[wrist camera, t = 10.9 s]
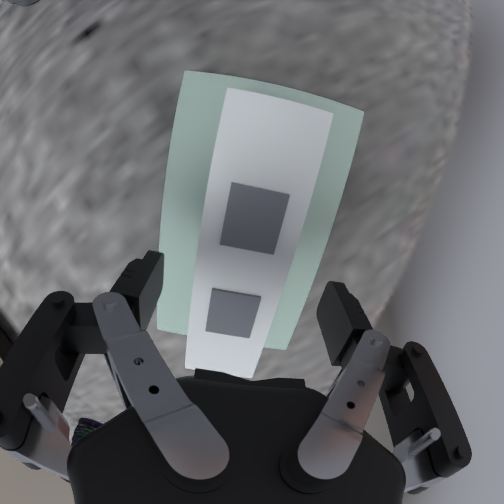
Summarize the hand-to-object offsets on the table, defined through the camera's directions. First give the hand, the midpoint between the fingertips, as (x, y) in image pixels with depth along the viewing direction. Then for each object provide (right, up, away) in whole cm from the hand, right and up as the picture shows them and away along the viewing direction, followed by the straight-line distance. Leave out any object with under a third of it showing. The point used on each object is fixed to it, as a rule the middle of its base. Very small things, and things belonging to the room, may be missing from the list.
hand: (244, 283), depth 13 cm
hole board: (0, +4, +8) cm, 9 cm away
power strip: (0, +4, +8) cm, 9 cm away
